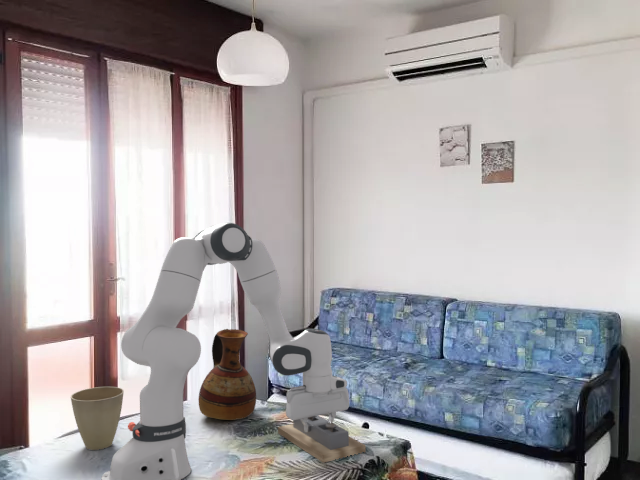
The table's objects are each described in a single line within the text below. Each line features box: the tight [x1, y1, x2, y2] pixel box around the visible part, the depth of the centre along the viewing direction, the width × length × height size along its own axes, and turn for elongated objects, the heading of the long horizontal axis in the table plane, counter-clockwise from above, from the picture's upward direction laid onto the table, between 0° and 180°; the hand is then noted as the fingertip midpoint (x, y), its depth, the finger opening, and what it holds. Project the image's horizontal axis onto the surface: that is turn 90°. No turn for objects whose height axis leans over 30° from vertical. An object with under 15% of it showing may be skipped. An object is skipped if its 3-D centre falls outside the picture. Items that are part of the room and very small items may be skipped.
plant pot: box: [70, 386, 124, 451], centre depth 177 cm, size 15×15×16 cm
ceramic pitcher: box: [198, 328, 257, 421], centre depth 203 cm, size 20×20×30 cm
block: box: [292, 415, 350, 450], centre depth 176 cm, size 6×23×4 cm, turn 29°
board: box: [277, 416, 367, 464], centre depth 176 cm, size 14×28×7 cm, turn 30°
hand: (318, 429), depth 176 cm, fingers closed on block, 6 cm apart
